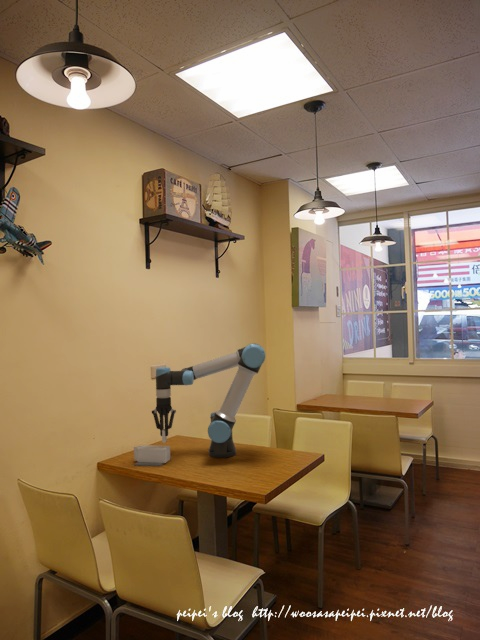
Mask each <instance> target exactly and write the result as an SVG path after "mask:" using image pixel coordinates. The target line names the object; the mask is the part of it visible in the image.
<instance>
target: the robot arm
mask: <svg viewBox="0 0 480 640" xmlns="http://www.w3.org/2000/svg"><path fill="white" fill-rule="evenodd" d="M265 360H266V351H265V349H264V348H263V347H262V345H260V344H258V343H250V344H249V343H248V344H247V345H246V346H243V347H241V348H239V349H237V350H236V351H235V352H233V353H230V354H226V355H223V356H220V357H217V358H214V359H210V360H207V361H205V362H202V363H198V364H195V365H192V366H189V367H184V368H182V369H181V370H171V367H168V366H161V367H157V368H156V369H155V386H156V387H155V393H156V394H155V396H156V398H155V399H156V400H155V401H156V402H155V403H156V406H155V409H153V410H151V414H152V416H153V419H154V423H155V426H156V429H157V430H159V431H160V437H161V443H162V444H166V443H167V440H168V439H167V438H168V436H169V430H170V429H172V427H173V423H174V417H175V414H176V413H177V410H176V409H174V408H173V406H172V398H171V396H172V393H171V392H172V391H171V389H172V388H171V387H172V386H191V385H193V384H194V381H195V380H197V379H198V380H199V379H202V378H205V377H207V376H211V375H214V374H217V373H221V372H223V371H227V370H230V369H232V368H236V367H238V369H237V372H236V373H235V376H234V378H233V380H232V382H231V384H230V387H229V389H228V391H227V393H226V395H225V397H224V399H223V402H222V404H221V406H220V408H219V410H217V411H214V412H211V413H210V416H209V417H210V423H209V425H208V426H207V434H208V437H209V439H210V445H209V448H208V456H209V457H211V458H214V459H215V458H216V459H224V458H230V457H234V456H236V455H237V448H236V445H235V442H234V439H233V429H234V427H235V424H236V421H237V420H236V415H237V412H238V410H239V408H240V406H241V404H242V401H243V400H244V397H245V395H246V394H247V390H248V389H249V386H250V384H251V382H252V380H253V378H254V376H255V375H257V374H258V373H259V372H260V369H261V367H262V365H263V364H264V363H265ZM169 414H170V417H169ZM158 415H159V416H158Z"/></svg>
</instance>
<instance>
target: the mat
mask: <svg viewBox="0 0 480 640" xmlns="http://www.w3.org/2000/svg"><path fill="white" fill-rule="evenodd" d="M163 464H165V463H145V462H138V461H136V462H135V463H134V466H135V467H161V466H163Z"/></svg>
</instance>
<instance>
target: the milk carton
mask: <svg viewBox="0 0 480 640" xmlns="http://www.w3.org/2000/svg"><path fill="white" fill-rule="evenodd" d="M170 460H171V445H150V444H149V445H147V444H144V445H143V444H142V445H138V446H133V461H136V462H145V463H164V464H166V463H167V462H169V461H170Z"/></svg>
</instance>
